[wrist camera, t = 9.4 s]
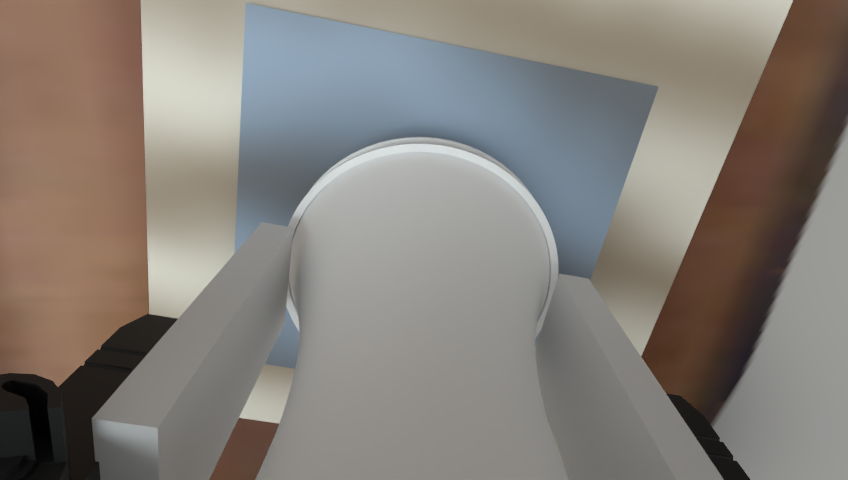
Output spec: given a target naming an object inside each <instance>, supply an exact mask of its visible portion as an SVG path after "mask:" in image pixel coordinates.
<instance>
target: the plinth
mask: <svg viewBox="0 0 848 480" xmlns="http://www.w3.org/2000/svg"><path fill="white" fill-rule="evenodd" d="M792 2H793V0H141V26H142V62H143V98H144V135H145V171H146V207H147V243H148V280H149V314H152V315H158V316H164V317H171V318H177V319H178V318H179V317H180V316H181V315H182V314H183V313H184V311H185V310H186V309H187V308H188V307H189V306H190V304H191V303H192V302H193V301H194V300H195V299H196V298H197V296H198V295H199V294H200V293H201V292H202V291H203V289H204V288H205V287H206V286H207V285H208V284H209V283H210V281H211V280H212V279H213V278H214V277H215V276H216V274H217V273H218V272H219V271H220V270H221V269H222V268H223V266H224V265H225V264H226V263H227V262H228V261H229V259H230V258H231V257H232V256H233V255H234V254H235V253H236V251H237V250H238V249H239V248H240V247H241V246H242V244H243V243H244V242H245V241H246V240H247V239H248V238H249V236H250V235H251V234H252V233H253V232H254V231H255V229H256V228H257V227H258V226H259V225H260V224H261V223H262V222H264V223H270V224H275V225H281V226H287V227H288V225H289V222H290V220H291V218H292V216H293V214H294V212H295V210H296V209H297V207H298V206H299V204H300V203H301V201H302V200H303V198H304V197H305V196H306V195H307V193H308V192H309V191H310V189H311V188H312V187H313V185H314V184H315V183H316V182H317V181H318V180H319V178H320V177H321V176H322V175H323V174H324V173H326V172H327V171H328V170H329V169H330V168H331V167H332V166H334V165H335V164H336V163H338V162H339V161H340V160H342V159H344V158H345V157H347V156H349V155H350V154H352V153H354V152H356V151H358V150H360V149H362V148H365V147H367V146H370V145H373V144H376V143H379V142H383V141H387V140H391V139H398V138H406V137H431V138H440V139H446V140H451V141H455V142H458V143H462V144H465V145H468V146H470V147H473V148H475V149H478V150H480V151H482V152H484V153H486V154H487V155H489V156H491V157H493V158H494V159H496V160H497V161H499V162H500V163H502V164H503V165H504V166H506V167H507V168H508V169H509V170H510V171H512V172H513V173H514V174H515V175H516V176H517V177H518V178H519V179H520V180H521V182H522V183H523V184H524V185H525V186H526V188H527V189H528V190H529V192H530V193H531V195H532V196H533V198H534V199H535V201H536V202H537V203H538V205H539V206H540V208H541V210H542V211H543V213H544V215H545V217H546V219H547V221H548V223H549V225H550V228H551V230H552V233H553V236H554V240H555V244H556V248H557V255H558V277H559V274H565V275H571V276H576V277H582V278H588V279H589V280H590V281H591V283H592V284H593V286H594V287H595V289H596V290H597V292H598V293H599V295H600V296H601V298H602V299H603V301H604V302H605V304H606V305H607V307H608V308H609V310H610V311H611V313H612V314H613V316H614V317H615V319H616V320H617V322H618V323H619V325H620V326H621V328H622V329H623V330H624V332H625V333H626V335H627V336H628V338H629V339H630V341H631V342H632V344H633V345H634V347H635V348H636V350H637V351H638V353H639V354H640V356H642V353H643V351H644V349H645V346H646V344H647V342H648V339H649V337H650V335H651V332H652V330H653V328H654V325H655V323H656V321H657V318H658V316H659V314H660V311H661V309H662V307H663V304H664V302H665V300H666V297H667V295H668V293H669V290H670V288H671V285H672V283H673V281H674V278H675V276H676V274H677V271H678V269H679V267H680V264H681V262H682V260H683V257H684V255H685V253H686V250H687V248H688V246H689V243H690V241H691V239H692V236H693V234H694V232H695V229H696V227H697V225H698V222H699V220H700V218H701V215H702V213H703V210H704V208H705V206H706V203H707V201H708V199H709V196H710V194H711V192H712V189H713V187H714V185H715V182H716V180H717V178H718V175H719V173H720V171H721V168H722V166H723V164H724V161H725V159H726V157H727V154H728V152H729V150H730V147H731V145H732V142H733V140H734V138H735V135H736V133H737V131H738V128H739V126H740V124H741V121H742V119H743V117H744V114H745V112H746V110H747V107H748V105H749V103H750V100H751V98H752V96H753V93H754V91H755V89H756V86H757V84H758V82H759V79H760V77H761V74H762V72H763V70H764V67H765V65H766V63H767V60H768V58H769V56H770V53H771V51H772V49H773V46H774V44H775V42H776V39H777V37H778V35H779V32H780V30H781V28H782V25H783V23H784V21H785V18H786V16H787V14H788V11H789V9H790V6H791V4H792ZM548 287H549V286H548ZM547 292H548V291H547ZM296 309H297V308H296ZM540 332H541V331H540ZM540 332H539V334H538V335H537V337H536V339H535V347H536V344H537V341H538V338H539V335H540ZM298 349H299V331H298V329H297V328H296V326H295V324H294V322H293V321H292V319H291V316H290V314H289V312H288V309H287V307H286V313H285V323H284V326H283V328H282V330H281V332H280V334H279V336H278V338H277V340H276V342H275V344H274V346H273V348H272V350H271V352H270V354H269V357H268V359H267V361H266V363H265V365H264V367H263V369H262V371H261V373H260V375H259V377H258V379H257V381H256V383H255V385H254V388H253V390H252V392H251V394H250V396H249V398H248V400H247V402H246V404H245V406H244V408H243V410H242V412H241V414H240V417H239V418H245V419H251V420H258V421H265V422H272V423H280V420H281V418H282V415H283V412H284V409H285V405H286V402H287V399H288V396H289V392H290V389H291V385H292V381H293V377H294V373H295V368H296V362H297V356H298ZM544 407H545V406H544ZM545 411H546V409H545ZM546 414H547V412H546ZM547 418H548V415H547ZM548 422H549V425H550V428H551V432H552V435H553V438H554V441H555V444H556V446H557V443H556V440H555V437H554V434H553V431H552V427H551V424H550V421H549V418H548ZM557 449H558V446H557ZM558 452H559V449H558ZM559 454H560V452H559ZM560 457H561V455H560ZM561 460H562V458H561Z"/></svg>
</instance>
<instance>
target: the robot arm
mask: <svg viewBox="0 0 848 480" xmlns="http://www.w3.org/2000/svg"><path fill="white" fill-rule="evenodd" d="M292 238H293V227H287V226H281V225H275V224H270V223H264V222H262V223H261V224H260V225H259V226H258V227H257V228H256V229H255V231H254V232H253V233H252V234H251V235H250V236H249V238H248V239H247V240H246V241H245V242H244V243H243V244H242V246H241V247H240V248H239V249H238V250H237V251H236V253H235V254H234V255H233V256H232V257H231V258H230V259H229V261H228V262H227V263H226V264H225V265H224V266H223V268H222V269H221V270H220V271H219V272H218V273H217V274H216V276H215V277H214V278H213V279H212V280H211V281H210V283H209V284H208V285H207V286H206V287H205V288H204V289H203V291H202V292H201V293H200V294H199V295H198V296H197V298H196V299H195V300H194V301H193V302H192V303H191V304H190V306H189V307H188V308H187V309H186V310H185V311H184V313H183V314H182V315H181V316H180V317H179V318H178V319H177V318H171V317H164V316H158V315H152V314H147V315H145V316H143V317H141V318H139V319H137V320H135V321H132V322H130V323H128V324H126V325H124V326H122V327H120V328H119V329H118V330H117V331H116V332H115V333H114V334H113V335H112V336H111V337H110V338H109V339H108V340H107V341H106V342H105V343H104V344H103V345H102V346H101V349H100V350H96V351H95V352H94V353H93V354H92V355H91V356H90V357H89V358H88V359H87V360H86V361H85V364H84V366H80V367H79V368H78V369H77V370H76V371H75V372H74V373H73V374H72V375H71V376H69V377H68V378H67V379H66V380H65V381H64V382H63V383H62V384H61V385H60V386H59V387H57V386H56V385H55V383H54V382H53V381H51V380H48V379H46V378H43V377H40V376H37V375H35V374H16V373H8V374H1V375H0V480H209V479H210V476H211V474H212V472H213V470H214V468H215V466H216V464H217V462H218V460H219V458H220V456H221V454H222V452H223V450H224V448H225V445H226V443H227V441H228V439H229V437H230V435H231V433H232V431H233V429H234V427H235V425H236V423H237V421H238V419H239V417H240V414H241V412H242V410H243V408H244V406H245V404H246V402H247V400H248V398H249V396H250V394H251V392H252V390H253V388H254V385H255V383H256V381H257V379H258V377H259V375H260V373H261V371H262V369H263V367H264V365H265V363H266V361H267V359H268V357H269V354H270V352H271V350H272V348H273V346H274V344H275V342H276V340H277V338H278V336H279V334H280V332H281V330H282V328H283V326H284V323H285V313H286V303H287V292H288V281H289V270H290V260H291V249H292ZM535 352H536V364H537V372H538V379H539V385H540V390H541V395H542V399H543V403H544V406H545V409H546V412H547V415H548V418H549V421H550V424H551V427H552V431H553V434H554V437H555V440H556V443H557V446H558V449H559V452H560V455H561V458H562V462H563V465H564V468H565V470H566V473H567V476H568V479H569V480H750V479H749V477H748V476H747V475H746V473H745V472H744V470H743V469H742V468H741V466H740V465H739V464H738V462H737V461H733V455H732V454H731V453H730V451H729V450H728V449H727V447H726V446H725V444H724V443H723V442H720V441H719V439H720V438H719V437H718V435H717V434H716V432H715V431H714V429H713V428H712V427H711V425H710V424H709V423H708V421H707V420H706V418H705V417H704V416H703V415H702V414H701V413H700V412H698V411H697V410H696V409H695V408H694V407H693V406H691V405H690V404H689V403H688V402H687V401H686V400H684V399H683V398H682V397H681V396H678V395H672V394H666V393H665V391H664V390H663V388H662V387H661V385H660V384H659V382H658V381H657V380H656V378H655V377H654V375H653V374H652V372H651V371H650V369H649V368H648V366H647V365H646V363H645V362H644V360H643V359H642V357H641V356H640V354H639V353H638V351H637V350H636V348H635V347H634V345H633V344H632V342H631V341H630V339H629V338H628V336H627V335H626V333H625V332H624V330H623V329H622V328H621V326H620V325H619V323H618V322H617V320H616V319H615V317H614V316H613V314H612V313H611V311H610V310H609V308H608V307H607V305H606V304H605V302H604V301H603V299H602V298H601V296H600V295H599V293H598V292H597V290H596V289H595V287H594V286H593V284H592V283H591V281H590V280H589V279H588V278H582V277H576V276H571V275H565V274H559V277H558V280H557V283H556V286H555V289H554V292H553V295H552V298H551V301H550V304H549V307H548V310H547V313H546V316H545V320H544V323H543V326H542V329H541V332H540V335H539V338H538V341H537V344H536V347H535Z"/></svg>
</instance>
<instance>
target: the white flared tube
mask: <svg viewBox="0 0 848 480" xmlns="http://www.w3.org/2000/svg"><path fill="white" fill-rule="evenodd" d="M288 227H293V238H292V249H291V260H290V270H289V281H288V292H287V303H286V307H287V309H288V312H289V314H290V316H291V319H292V321H293V322H294V324H295V326H296V328H297V329H298V331H299V349H298V356H297V362H296V368H295V373H294V377H293V381H292V385H291V389H290V392H289V396H288V399H287V402H286V405H285V409H284V412H283V415H282V418H281V420H280V423H279V426H278V428H277V431H276V434H275V436H274V438H273V441H272V443H271V445H270V448H269V450H268V452H267V455H266V457H265V459H264V461H263V464H262V466H261V468H260V471H259V473H258V475H257V477H256V479H255V480H569V479H568V476H567V473H566V470H565V468H564V465H563V462H562V460H561V457H560V454H559V452H558V449H557V446H556V444H555V441H554V438H553V435H552V432H551V428H550V425H549V422H548V418H547V414H546V411H545V407H544V403H543V399H542V395H541V390H540V385H539V379H538V372H537V364H536V352H535V339H536V337H537V335H538V334H539V332H540V331H541V329H542V326H543V323H544V320H545V316H546V313H547V310H548V307H549V304H550V301H551V298H552V295H553V292H554V289H555V286H556V283H557V280H558V255H557V248H556V244H555V240H554V236H553V233H552V230H551V228H550V225H549V223H548V221H547V219H546V217H545V215H544V213H543V211H542V210H541V208H540V206H539V205H538V203H537V202H536V201H535V199H534V198H533V196H532V195H531V193H530V192H529V190H528V189H527V188H526V186H525V185H524V184H523V183H522V182H521V180H520V179H519V178H518V177H517V176H516V175H515V174H514V173H513V172H512V171H510V170H509V169H508V168H507V167H506V166H504V165H503V164H502V163H500V162H499V161H497V160H496V159H494V158H493V157H491V156H489V155H487V154H486V153H484V152H482V151H480V150H478V149H475V148H473V147H470V146H468V145H465V144H462V143H458V142H455V141H451V140H446V139H440V138H431V137H406V138H398V139H391V140H387V141H383V142H379V143H376V144H373V145H370V146H367V147H365V148H362V149H360V150H358V151H356V152H354V153H352V154H350V155H349V156H347V157H345V158H344V159H342V160H340V161H339V162H338V163H336V164H335V165H334V166H332V167H331V168H330V169H329V170H328V171H327V172H326V173H324V174H323V175H322V176H321V177H320V178H319V180H318V181H317V182H316V183H315V184H314V185H313V187H312V188H311V189H310V191H309V192H308V193H307V195H306V196H305V197H304V198H303V200H302V201H301V203H300V204H299V206H298V207H297V209H296V210H295V212H294V214H293V216H292V218H291V220H290V222H289V225H288ZM548 286H549V287H548ZM547 291H548V292H547ZM296 308H297V309H296Z"/></svg>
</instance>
